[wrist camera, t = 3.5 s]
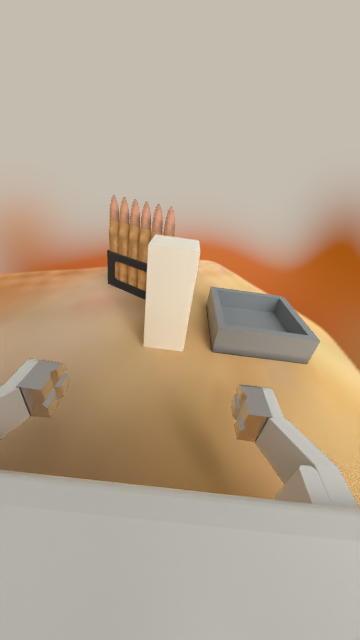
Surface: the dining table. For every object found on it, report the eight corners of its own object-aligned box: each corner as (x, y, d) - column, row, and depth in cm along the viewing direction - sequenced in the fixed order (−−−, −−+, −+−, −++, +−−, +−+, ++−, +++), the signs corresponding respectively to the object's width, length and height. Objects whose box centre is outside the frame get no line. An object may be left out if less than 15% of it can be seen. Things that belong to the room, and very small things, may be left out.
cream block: (143, 346, 22) (148, 244, 16) (149, 325, 25) (155, 234, 20) (183, 351, 22) (200, 251, 17) (184, 329, 25) (198, 240, 20)
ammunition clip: (172, 303, 30) (183, 207, 24) (164, 307, 29) (174, 208, 23) (116, 280, 35) (114, 194, 28) (107, 283, 33) (102, 193, 27)
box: (212, 351, 22) (218, 328, 21) (206, 306, 31) (210, 286, 29) (306, 363, 23) (320, 341, 21) (275, 315, 31) (283, 296, 30)
